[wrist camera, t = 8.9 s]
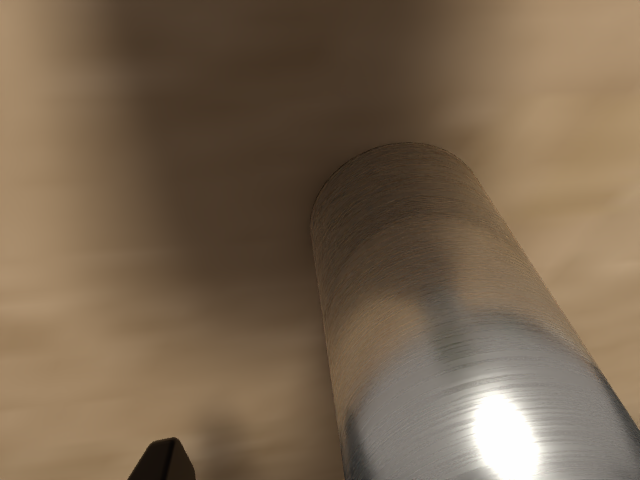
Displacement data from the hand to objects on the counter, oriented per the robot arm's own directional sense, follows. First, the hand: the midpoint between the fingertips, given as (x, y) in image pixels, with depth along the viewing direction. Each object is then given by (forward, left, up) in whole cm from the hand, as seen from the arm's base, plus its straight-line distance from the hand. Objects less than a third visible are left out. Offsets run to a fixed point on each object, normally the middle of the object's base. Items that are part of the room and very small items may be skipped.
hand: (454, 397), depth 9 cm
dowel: (0, 0, -5) cm, 5 cm away
